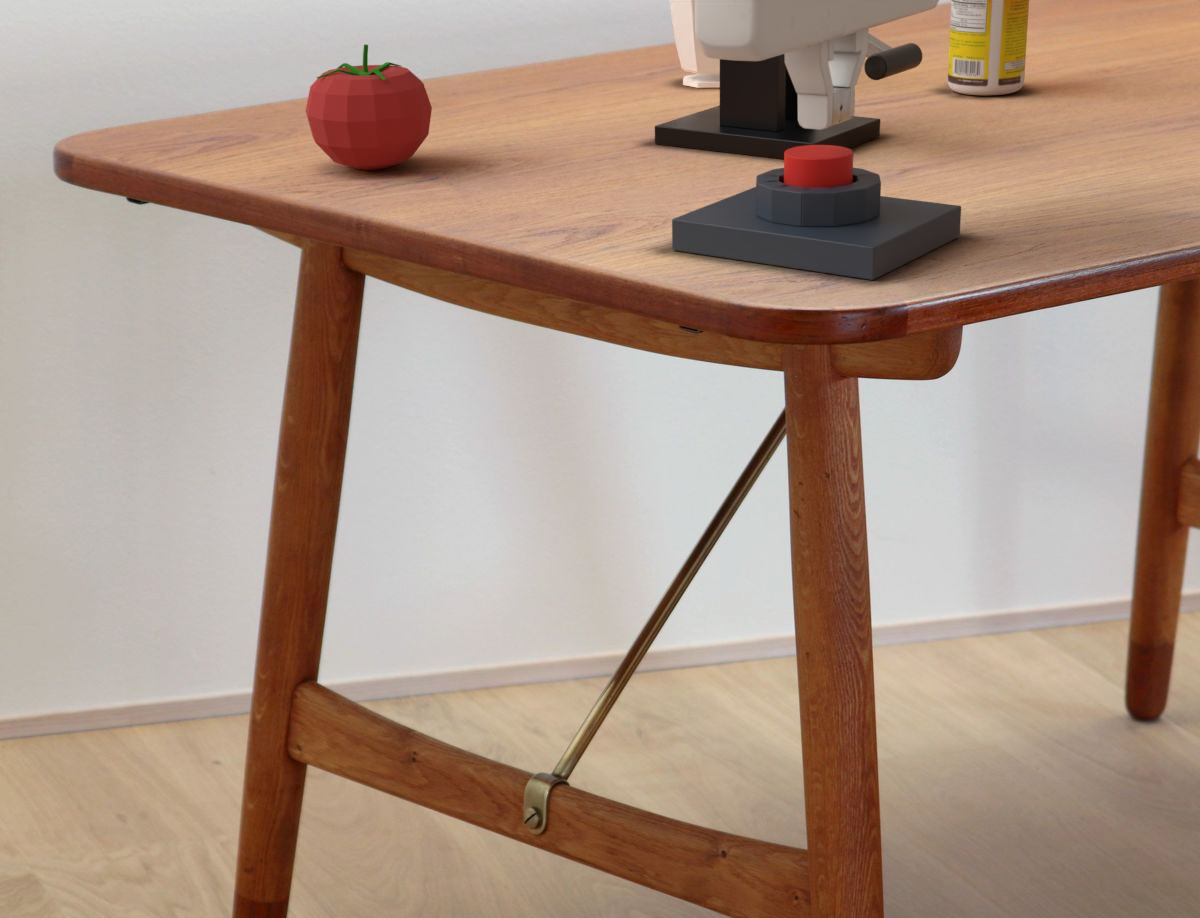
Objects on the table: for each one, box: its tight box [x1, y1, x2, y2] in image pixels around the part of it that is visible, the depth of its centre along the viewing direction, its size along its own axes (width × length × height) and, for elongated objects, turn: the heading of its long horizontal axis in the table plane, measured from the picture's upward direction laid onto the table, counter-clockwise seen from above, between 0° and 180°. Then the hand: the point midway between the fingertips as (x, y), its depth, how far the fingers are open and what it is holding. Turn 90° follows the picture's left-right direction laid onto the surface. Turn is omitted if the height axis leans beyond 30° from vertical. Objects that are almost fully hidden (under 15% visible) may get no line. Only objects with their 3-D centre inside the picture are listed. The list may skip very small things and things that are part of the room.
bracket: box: [654, 54, 881, 160], centre depth 125 cm, size 12×9×12 cm
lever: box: [863, 32, 923, 81], centre depth 122 cm, size 12×5×2 cm, turn 55°
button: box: [783, 145, 854, 188], centre depth 101 cm, size 4×4×2 cm
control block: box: [671, 167, 962, 281], centre depth 102 cm, size 12×10×4 cm
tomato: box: [305, 43, 433, 171], centre depth 122 cm, size 8×8×8 cm
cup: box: [668, 0, 720, 89], centre depth 147 cm, size 7×10×8 cm
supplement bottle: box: [947, 0, 1030, 97], centre depth 140 cm, size 6×6×10 cm
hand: (826, 124), depth 100 cm, fingers closed
